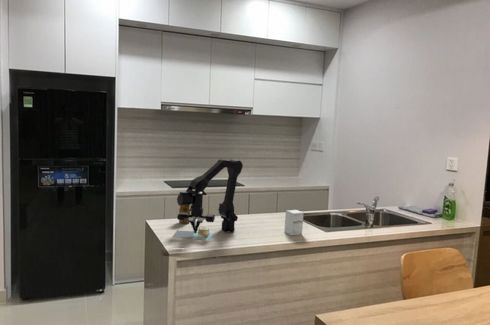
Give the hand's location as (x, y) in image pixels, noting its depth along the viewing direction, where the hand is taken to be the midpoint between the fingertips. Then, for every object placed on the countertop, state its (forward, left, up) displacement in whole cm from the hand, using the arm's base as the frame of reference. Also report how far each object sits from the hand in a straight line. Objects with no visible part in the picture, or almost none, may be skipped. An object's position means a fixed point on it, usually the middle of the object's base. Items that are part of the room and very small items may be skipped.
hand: (195, 233), depth 203 cm
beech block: (-4, 0, -1) cm, 4 cm away
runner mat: (+1, 0, -2) cm, 2 cm away
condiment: (+10, -21, -2) cm, 23 cm away
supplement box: (-52, -17, -2) cm, 55 cm away
